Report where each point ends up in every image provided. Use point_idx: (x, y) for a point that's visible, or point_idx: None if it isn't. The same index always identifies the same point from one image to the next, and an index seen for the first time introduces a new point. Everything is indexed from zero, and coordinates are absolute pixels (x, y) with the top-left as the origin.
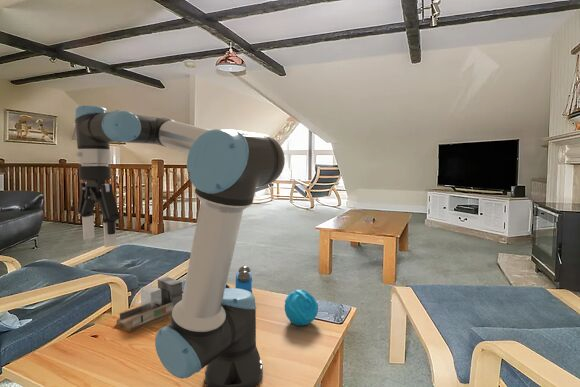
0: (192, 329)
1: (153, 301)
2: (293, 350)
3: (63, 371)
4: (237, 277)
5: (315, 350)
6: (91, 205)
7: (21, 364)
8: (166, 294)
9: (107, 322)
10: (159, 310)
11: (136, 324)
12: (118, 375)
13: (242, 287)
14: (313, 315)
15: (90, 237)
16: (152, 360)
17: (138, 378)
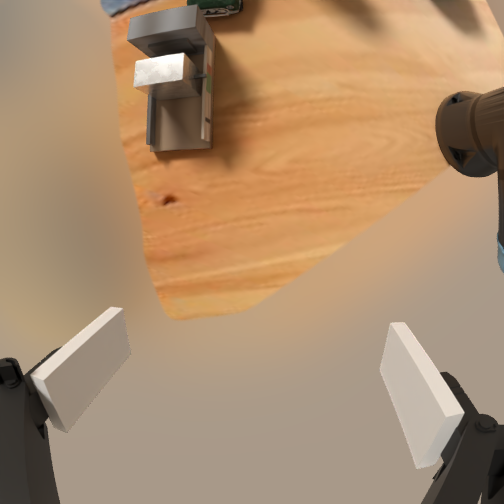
0: None
1: (190, 81)
2: (478, 48)
3: (247, 281)
4: None
5: (493, 39)
6: (37, 480)
7: (175, 309)
8: (181, 45)
9: (134, 162)
10: (208, 78)
11: (209, 134)
12: (334, 233)
13: None
14: None
15: (123, 331)
16: (343, 175)
17: (368, 218)
